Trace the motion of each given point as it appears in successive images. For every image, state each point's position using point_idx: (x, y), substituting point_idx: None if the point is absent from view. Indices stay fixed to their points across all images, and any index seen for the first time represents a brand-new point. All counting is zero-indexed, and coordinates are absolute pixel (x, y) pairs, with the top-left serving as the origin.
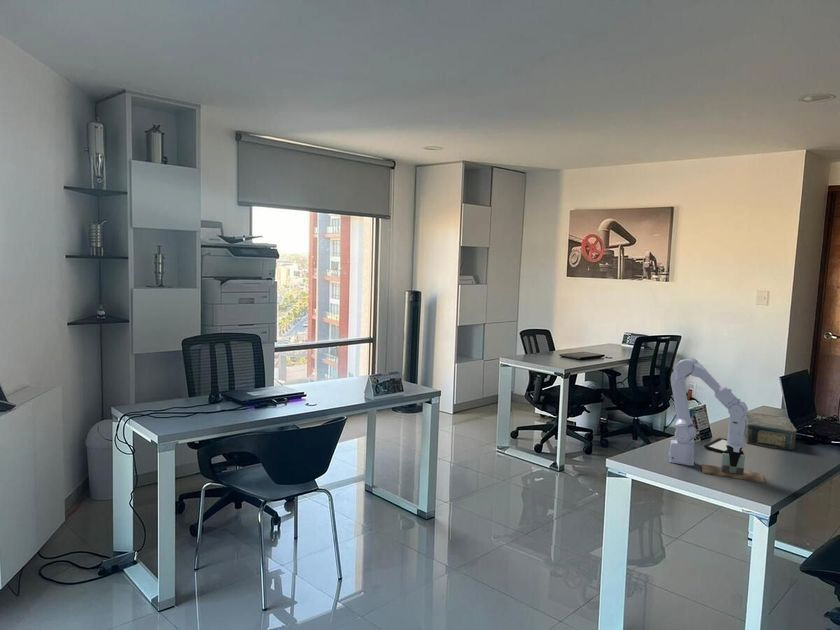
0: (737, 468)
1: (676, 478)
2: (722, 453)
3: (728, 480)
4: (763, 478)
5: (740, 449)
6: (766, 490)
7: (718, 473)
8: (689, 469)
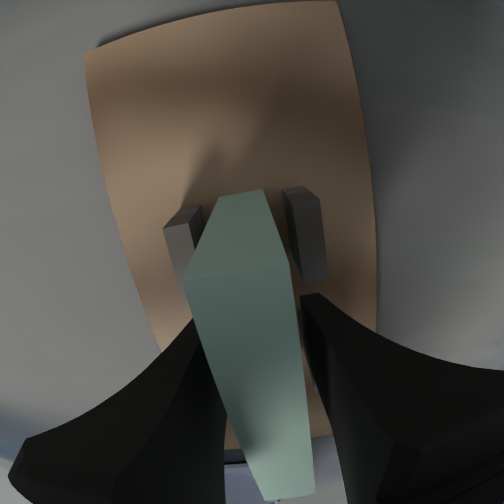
0: (326, 269)
1: None
2: (287, 497)
3: (445, 278)
4: (256, 7)
5: (140, 476)
6: (490, 40)
7: None
8: (335, 457)
